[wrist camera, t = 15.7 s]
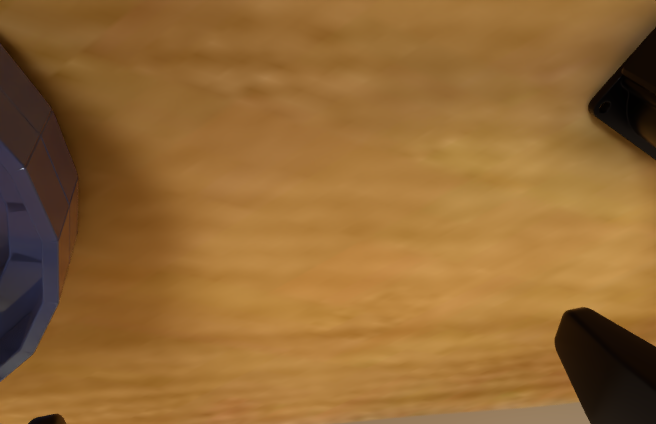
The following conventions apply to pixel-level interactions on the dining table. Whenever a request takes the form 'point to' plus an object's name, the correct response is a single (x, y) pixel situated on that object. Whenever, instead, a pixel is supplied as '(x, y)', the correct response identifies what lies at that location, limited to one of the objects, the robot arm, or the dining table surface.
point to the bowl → (31, 215)
